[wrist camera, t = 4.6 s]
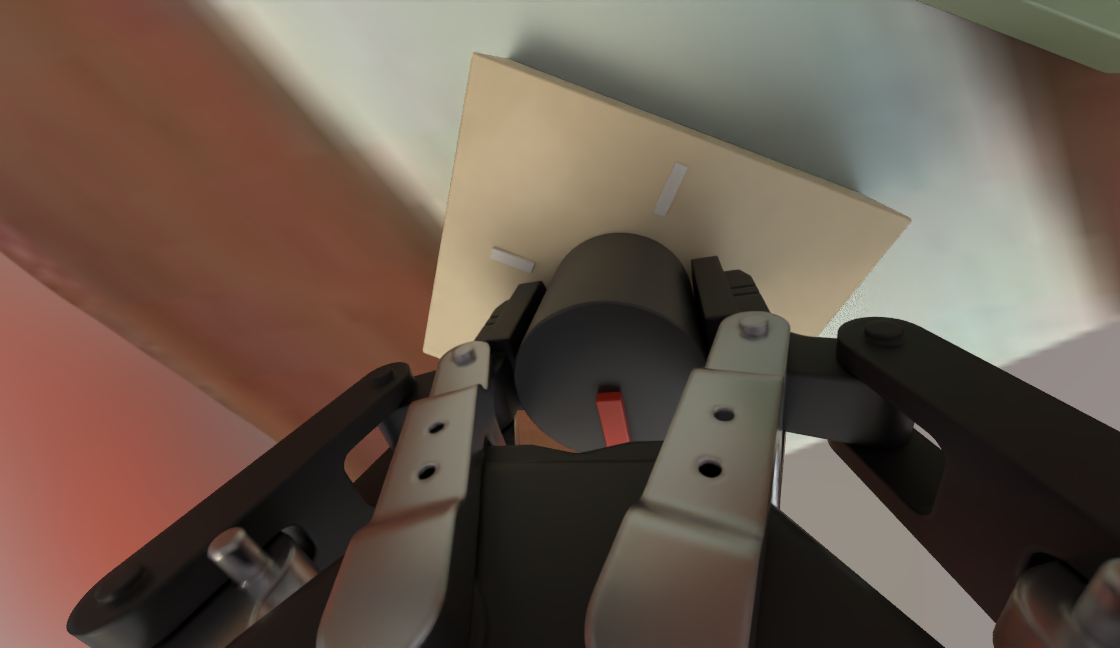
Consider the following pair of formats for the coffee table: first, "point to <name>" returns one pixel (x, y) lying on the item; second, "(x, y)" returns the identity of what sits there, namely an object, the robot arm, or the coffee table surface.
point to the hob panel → (632, 203)
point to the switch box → (1051, 26)
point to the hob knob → (610, 344)
